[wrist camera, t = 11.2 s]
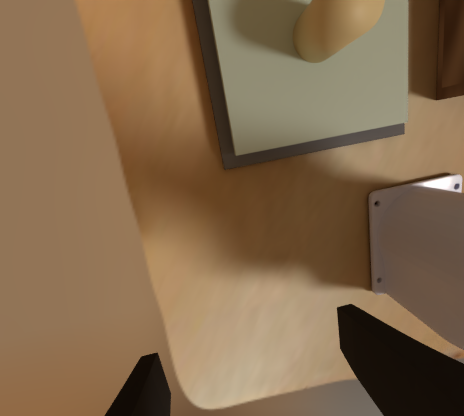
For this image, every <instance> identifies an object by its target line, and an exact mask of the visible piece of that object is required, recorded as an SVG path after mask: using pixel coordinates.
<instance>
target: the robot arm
mask: <svg viewBox="0 0 464 416" xmlns="http://www.w3.org/2000/svg"><path fill="white" fill-rule="evenodd" d="M454 185H455V187H454ZM461 190H462V177H461V175H459V174H451V175H446V176H442V177H437V178H432V179H428V180H423V181H418V182H414V183H409V184H404V185H400V186H395V187H390V188H386V189H381V190H377V191H373V192H371V193H370V195H369V224H370V251H371V277H372V291H373V292H374V293H375V294H377V295H381V294H385V293H387V294H388V295H389V296H390V297H392V298H393V299H394V300H395V301H397V302H398V303H399V304H401V305H402V306H403V307H404V308H406V309H407V310H408V311H409V312H411V313H412V314H413V315H414V316H416V317H417V318H418V319H420V320H421V321H422V322H423V323H425V324H426V325H427V326H428V327H430V328H431V329H432V330H434V331H435V332H436V333H437V334H439V335H440V336H441V337H442V338H444V339H445V340H447V341H448V342H450V343H452V344H453V345H455V346H457V347H459V348H461V349H463V350H464V193H461ZM376 201H377V204H376V205H374V204H375V202H376ZM378 278H379V279H378ZM377 279H378V280H377ZM337 314H338V326H339V339H340V349H341V351H342V353H343V354H344V356H345V358H346V360H347V362H348V363H349V365H350V367H351V369H352V370H353V372H354V374H355V375H356V377H357V378H358V380H359V381H360V383H361V384H362V385H363V387H364V388H365V390H366V391H367V393H368V394H369V395H370V397H371V398H372V400H373V401H374V403H375V404H376V405H377V407H378V408H379V409H380V411H381V412H382V414H383V415H384V416H464V364H463V363H461V362H459V361H457V360H455V359H453V358H450V357H448V356H446V355H444V354H442V353H440V352H438V351H436V350H434V349H432V348H430V347H428V346H426V345H424V344H422V343H420V342H419V341H417V340H415V339H413V338H411V337H409V336H407V335H405V334H404V333H402V332H400V331H398V330H396V329H395V328H393V327H391V326H389V325H387V324H386V323H384V322H382V321H380V320H379V319H377V318H375V317H374V316H372V315H370V314H368V313H367V312H365V311H363V310H361V309H360V308H358V307H356V306H354V305H352V304H349V305H345V306H341V307H337ZM170 401H171V392H170V390H169V386H168V383H167V380H166V377H165V374H164V371H163V368H162V365H161V361H160V358H159V355H158V353H154V354H150V355H146V356H142V357H141V358H140V359H139V361H138V363H137V364H136V366H135V368H134V369H133V371H132V373H131V374H130V376H129V378H128V379H127V381H126V383H125V384H124V386H123V388H122V389H121V391H120V392H119V394H118V395H117V397H116V399H115V400H114V402H113V403H112V405H111V407H110V408H109V410H108V411H107V413H106V414H105V416H170V404H171V402H170Z"/></svg>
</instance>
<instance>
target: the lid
mask: <svg viewBox="0 0 464 416" xmlns="http://www.w3.org/2000/svg"><path fill="white" fill-rule="evenodd" d="M207 1H208V6H209V12H210V18H211V23H212V29H213V34H214V40H215V46H216V51H217V57H218V63H219V68H220V74H221V80H222V85H223V91H224V96H225V102H226V108H227V113H228V119H229V125H230V130H231V136H232V142H233V147H234V153H235V156H238V155H243V154H248V153H253V152H258V151H263V150H268V149H273V148H278V147H283V146H289V145H294V144H299V143H304V142H309V141H314V140H319V139H324V138H329V137H334V136H339V135H345V134H350V133H355V132H360V131H365V130H370V129H375V128H380V127H385V126H390V125H395V124H401V123H406V122H408V0H207Z"/></svg>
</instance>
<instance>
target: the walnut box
mask: <svg viewBox="0 0 464 416" xmlns="http://www.w3.org/2000/svg"><path fill="white" fill-rule="evenodd" d="M462 95H464V0H440V9H439V39H438V69H437V99H436V100H441V99H446V98H451V97H457V96H462Z"/></svg>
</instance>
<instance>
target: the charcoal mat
mask: <svg viewBox="0 0 464 416" xmlns="http://www.w3.org/2000/svg"><path fill="white" fill-rule="evenodd" d="M192 1H193V7H194V12H195V17H196V23H197V28H198V33H199V38H200V44H201V49H202V54H203V60H204V65H205V70H206V75H207V81H208V86H209V91H210V96H211V102H212V107H213V112H214V118H215V123H216V128H217V133H218V139H219V144H220V149H221V154H222V160H223V165H224V169H225V170H226V169H231V168H236V167H241V166H246V165H251V164H256V163H261V162H266V161H271V160H276V159H281V158H286V157H291V156H296V155H301V154H306V153H311V152H316V151H321V150H326V149H332V148H337V147H342V146H347V145H352V144H357V143H362V142H367V141H372V140H377V139H382V138H387V137H392V136H397V135H402V134H404V123H401V124H395V125H390V126H385V127H380V128H375V129H370V130H365V131H360V132H355V133H350V134H345V135H339V136H334V137H329V138H324V139H319V140H314V141H309V142H304V143H299V144H294V145H289V146H283V147H278V148H273V149H268V150H263V151H258V152H253V153H248V154H243V155H238V156H235V153H234V147H233V142H232V136H231V130H230V125H229V119H228V113H227V108H226V102H225V96H224V91H223V85H222V80H221V74H220V68H219V63H218V57H217V51H216V46H215V40H214V34H213V29H212V23H211V18H210V12H209V6H208V1H207V0H192Z"/></svg>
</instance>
